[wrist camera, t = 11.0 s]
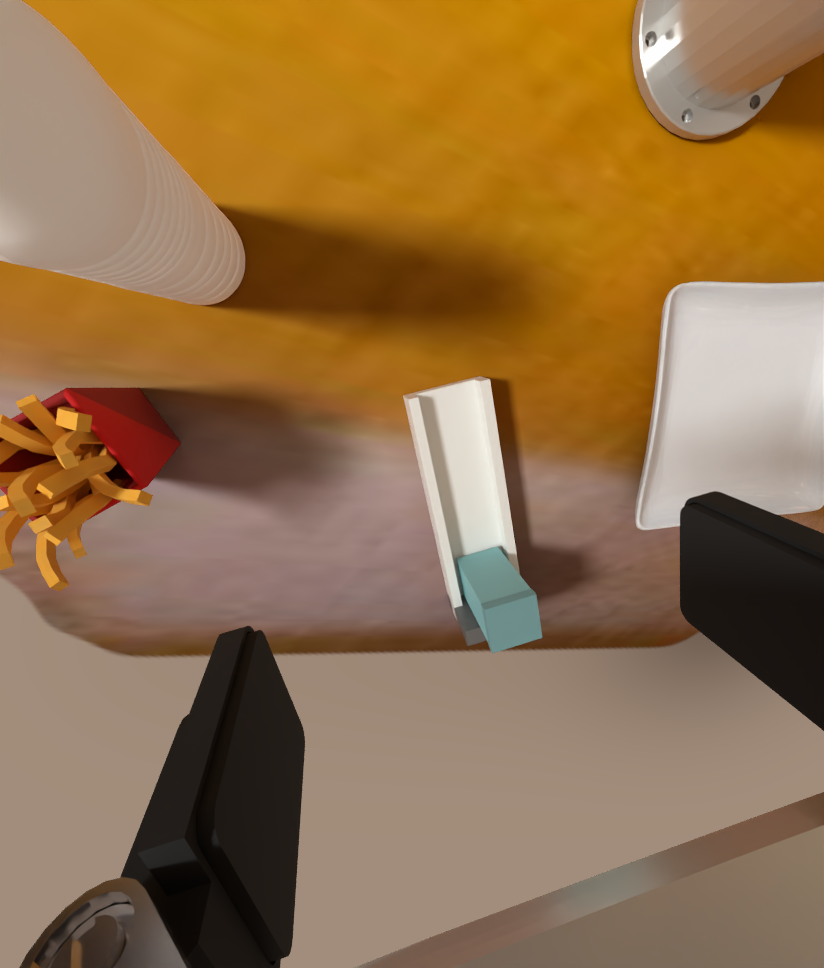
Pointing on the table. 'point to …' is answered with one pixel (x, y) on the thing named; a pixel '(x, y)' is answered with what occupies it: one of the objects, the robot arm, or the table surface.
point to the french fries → (76, 465)
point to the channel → (462, 481)
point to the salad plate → (737, 400)
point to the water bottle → (97, 179)
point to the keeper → (499, 599)
